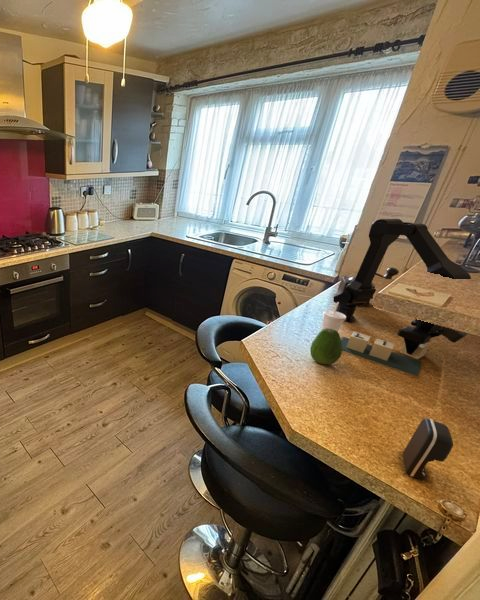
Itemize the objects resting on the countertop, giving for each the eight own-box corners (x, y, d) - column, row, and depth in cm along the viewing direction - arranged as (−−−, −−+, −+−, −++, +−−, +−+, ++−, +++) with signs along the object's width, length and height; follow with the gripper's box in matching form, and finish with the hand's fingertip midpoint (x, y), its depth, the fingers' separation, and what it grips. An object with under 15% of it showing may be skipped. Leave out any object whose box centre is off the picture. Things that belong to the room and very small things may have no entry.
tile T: (405, 349, 108) (411, 337, 106) (423, 356, 104) (429, 344, 102) (399, 352, 106) (405, 340, 104) (417, 360, 102) (423, 347, 100)
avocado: (303, 353, 106) (314, 321, 101) (331, 358, 103) (344, 326, 98) (309, 367, 99) (321, 334, 94) (340, 372, 96) (354, 339, 91)
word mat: (343, 337, 115) (343, 336, 114) (420, 362, 101) (421, 361, 101) (335, 349, 108) (335, 348, 108) (416, 377, 94) (417, 376, 94)
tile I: (371, 349, 107) (376, 337, 105) (389, 355, 104) (395, 343, 102) (368, 354, 104) (374, 342, 102) (387, 361, 101) (392, 348, 99)
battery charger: (430, 486, 64) (459, 445, 59) (404, 475, 66) (430, 435, 61) (425, 461, 69) (451, 422, 64) (401, 452, 71) (424, 413, 66)
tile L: (349, 342, 111) (354, 331, 109) (365, 347, 108) (370, 336, 106) (346, 347, 108) (350, 335, 106) (362, 353, 105) (368, 340, 103)
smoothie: (330, 334, 117) (343, 299, 111) (341, 343, 111) (355, 307, 105) (311, 333, 117) (323, 298, 112) (321, 342, 112) (335, 306, 106)
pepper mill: (338, 302, 141) (352, 263, 133) (335, 294, 150) (348, 257, 142) (383, 310, 134) (401, 270, 126) (378, 301, 142) (394, 262, 135)
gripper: (459, 327, 87) (433, 374, 94) (484, 313, 95) (459, 357, 102) (407, 311, 97) (386, 354, 103) (434, 299, 104) (413, 340, 111)
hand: (412, 352), depth 104 cm, fingers closed on tile T, 4 cm apart
